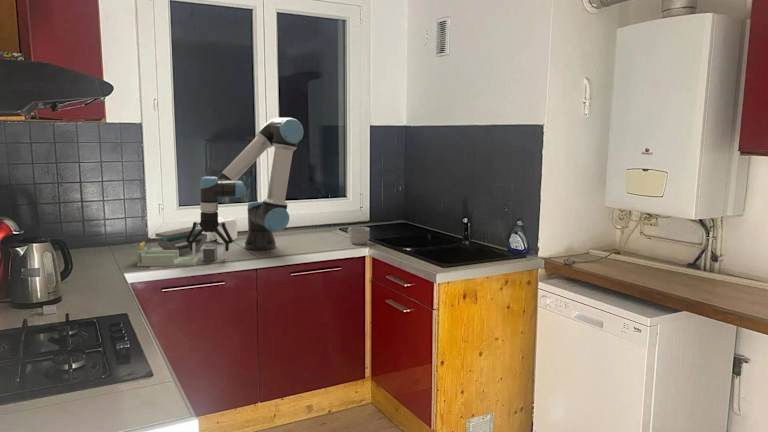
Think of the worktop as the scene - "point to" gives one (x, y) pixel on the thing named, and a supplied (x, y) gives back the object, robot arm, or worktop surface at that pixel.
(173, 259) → the header
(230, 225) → the cable organizer
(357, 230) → the teacup
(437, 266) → the worktop surface
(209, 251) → the plug
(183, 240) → the sharpening stone
